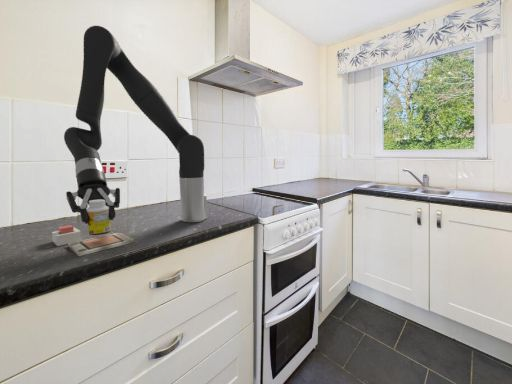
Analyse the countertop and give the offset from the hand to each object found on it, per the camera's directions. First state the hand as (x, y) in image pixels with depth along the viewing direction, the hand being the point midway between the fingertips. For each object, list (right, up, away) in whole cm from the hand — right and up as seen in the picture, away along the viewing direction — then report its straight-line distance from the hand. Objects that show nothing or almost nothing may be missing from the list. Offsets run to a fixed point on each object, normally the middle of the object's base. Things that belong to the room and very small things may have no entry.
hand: (99, 220), depth 72 cm
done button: (-13, -5, +5) cm, 15 cm away
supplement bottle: (-1, -5, +2) cm, 5 cm away
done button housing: (-13, -7, +5) cm, 16 cm away
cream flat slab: (-1, -7, +2) cm, 8 cm away
